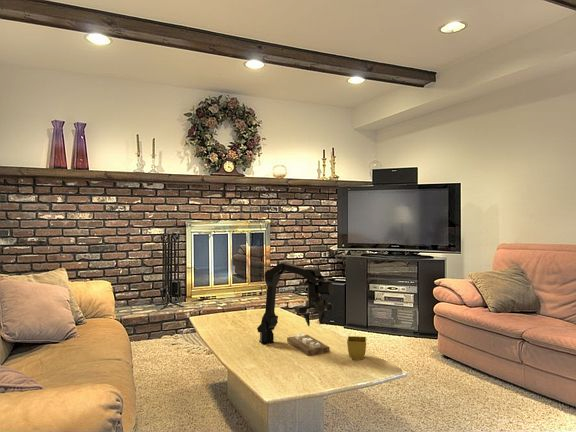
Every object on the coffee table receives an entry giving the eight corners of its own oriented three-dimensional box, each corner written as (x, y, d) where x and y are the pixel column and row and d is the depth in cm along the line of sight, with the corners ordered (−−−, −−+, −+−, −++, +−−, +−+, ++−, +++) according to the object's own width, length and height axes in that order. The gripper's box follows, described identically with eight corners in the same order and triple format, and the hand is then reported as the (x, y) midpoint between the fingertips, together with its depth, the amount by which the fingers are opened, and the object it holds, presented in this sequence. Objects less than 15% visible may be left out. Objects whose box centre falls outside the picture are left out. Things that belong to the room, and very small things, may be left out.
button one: (298, 341, 220) (298, 336, 220) (295, 339, 223) (295, 334, 223) (305, 339, 221) (305, 335, 221) (302, 338, 225) (302, 333, 225)
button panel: (307, 355, 200) (307, 350, 201) (287, 342, 223) (287, 337, 223) (329, 351, 205) (329, 346, 205) (307, 339, 228) (307, 334, 228)
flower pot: (366, 361, 190) (366, 342, 190) (347, 361, 192) (346, 341, 192) (366, 355, 199) (366, 336, 199) (348, 354, 200) (348, 336, 201)
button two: (305, 345, 212) (305, 340, 212) (302, 343, 215) (302, 338, 215) (312, 344, 213) (312, 339, 213) (309, 342, 217) (309, 337, 217)
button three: (313, 349, 204) (313, 344, 204) (309, 347, 208) (309, 342, 208) (320, 348, 206) (320, 343, 206) (316, 346, 209) (316, 341, 209)
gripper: (303, 298, 196) (304, 331, 196) (338, 294, 203) (339, 326, 203) (294, 294, 206) (294, 326, 206) (327, 291, 213) (327, 321, 213)
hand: (314, 325), depth 207 cm, fingers open, 6 cm apart
